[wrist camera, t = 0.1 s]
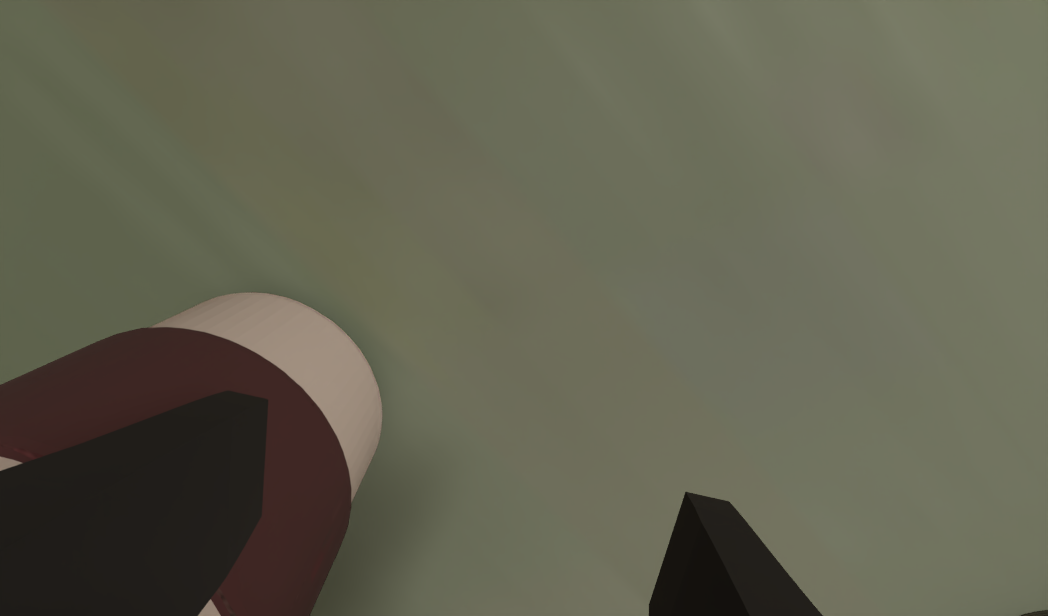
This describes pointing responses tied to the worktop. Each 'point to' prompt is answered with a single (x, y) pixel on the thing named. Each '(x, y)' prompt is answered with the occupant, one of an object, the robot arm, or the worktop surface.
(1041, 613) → the lens
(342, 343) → the coffee cup
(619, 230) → the worktop surface
